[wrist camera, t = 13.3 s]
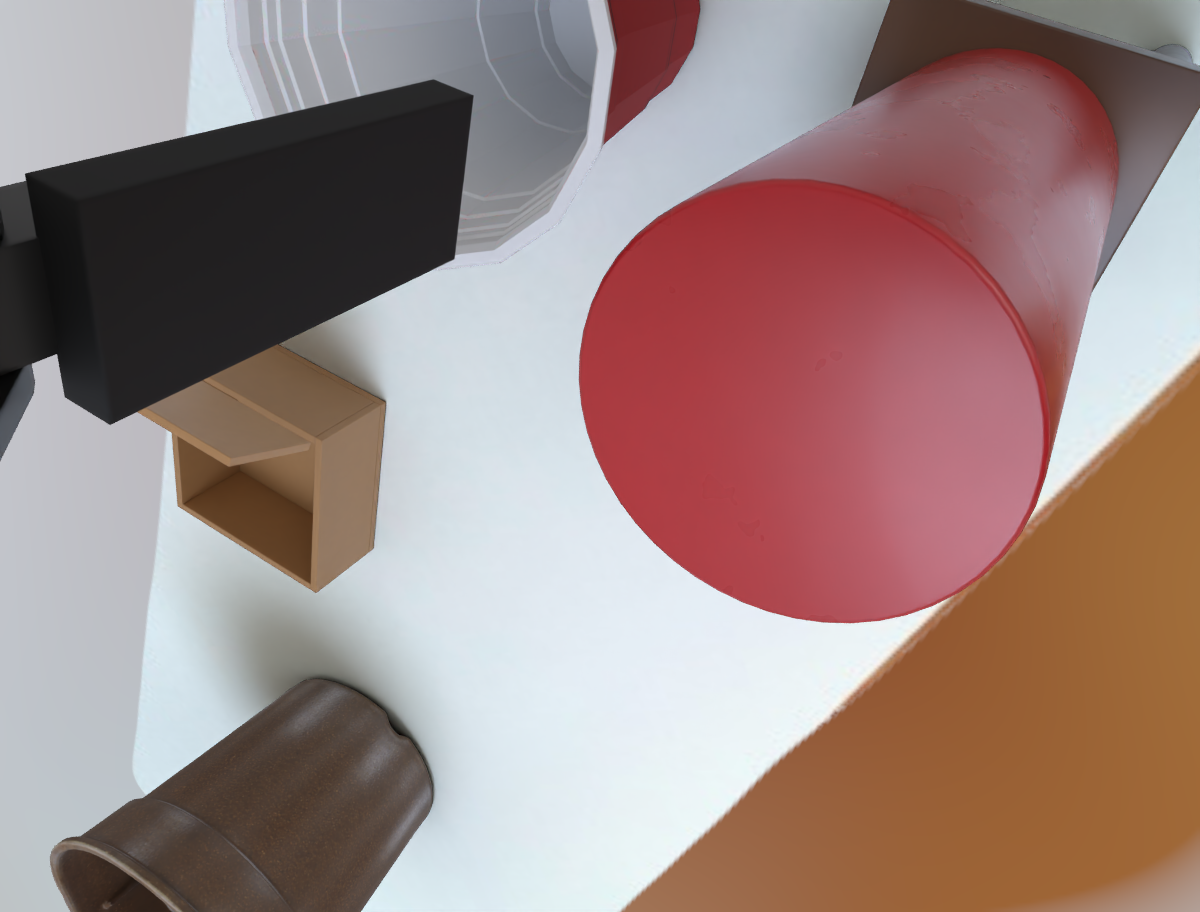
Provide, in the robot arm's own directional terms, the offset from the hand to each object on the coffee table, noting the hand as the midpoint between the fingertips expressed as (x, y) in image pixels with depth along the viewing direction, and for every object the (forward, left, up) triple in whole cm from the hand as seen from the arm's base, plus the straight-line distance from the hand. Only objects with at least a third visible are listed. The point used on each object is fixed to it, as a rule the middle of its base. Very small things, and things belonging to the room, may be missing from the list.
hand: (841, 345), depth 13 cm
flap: (+20, -26, -11) cm, 35 cm away
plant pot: (+49, -21, -18) cm, 56 cm away
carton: (+26, -26, -18) cm, 41 cm away
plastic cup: (+1, -13, -18) cm, 22 cm away
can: (0, 0, -12) cm, 12 cm away
